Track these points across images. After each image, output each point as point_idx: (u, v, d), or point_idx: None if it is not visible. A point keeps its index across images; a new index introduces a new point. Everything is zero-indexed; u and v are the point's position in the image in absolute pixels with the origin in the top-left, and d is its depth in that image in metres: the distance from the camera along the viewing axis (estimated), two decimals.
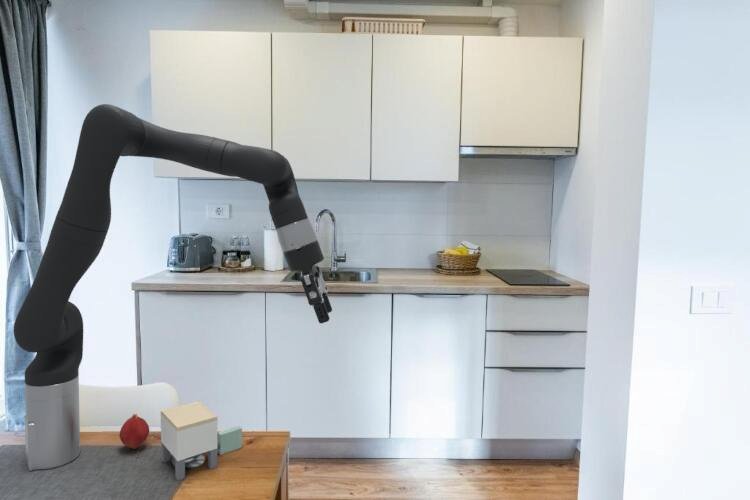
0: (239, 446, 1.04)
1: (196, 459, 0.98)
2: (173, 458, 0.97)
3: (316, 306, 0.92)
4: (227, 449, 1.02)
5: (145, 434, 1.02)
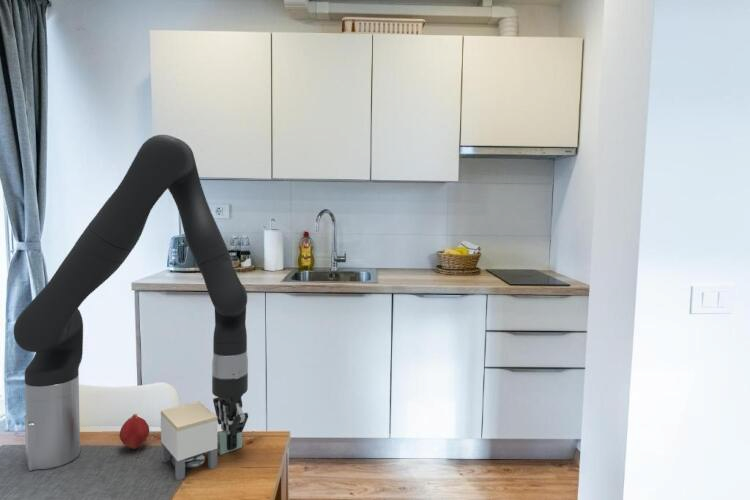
0: (239, 446, 1.04)
1: (196, 458, 0.99)
2: (173, 459, 0.97)
3: (232, 435, 1.01)
4: None
5: (145, 434, 1.02)
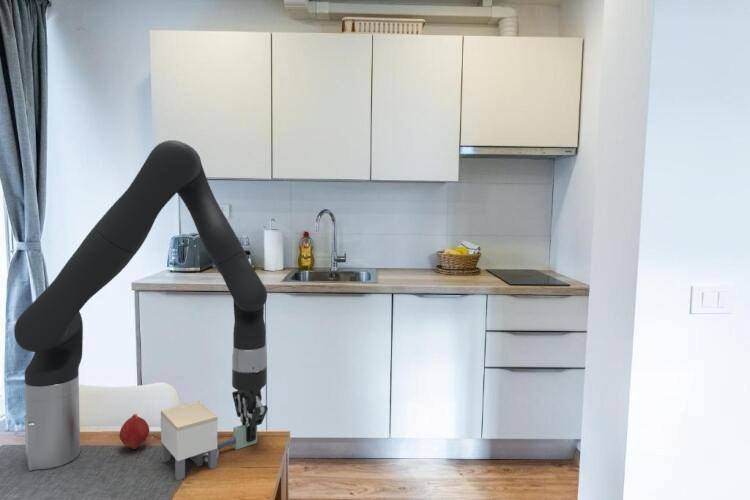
0: (254, 441, 1.06)
1: None
2: None
3: (251, 427, 1.04)
4: (243, 444, 1.04)
5: (145, 434, 1.02)
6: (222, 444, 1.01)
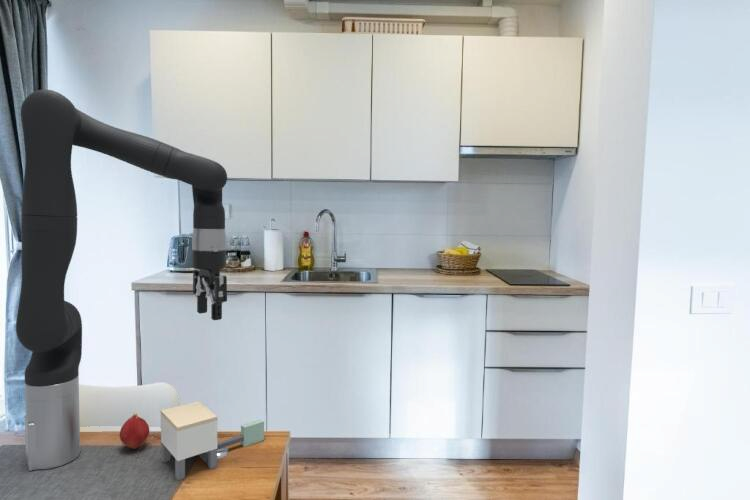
0: (261, 439, 1.08)
1: None
2: None
3: (217, 304, 1.05)
4: (250, 441, 1.06)
5: (145, 434, 1.02)
6: (230, 441, 1.03)
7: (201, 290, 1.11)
